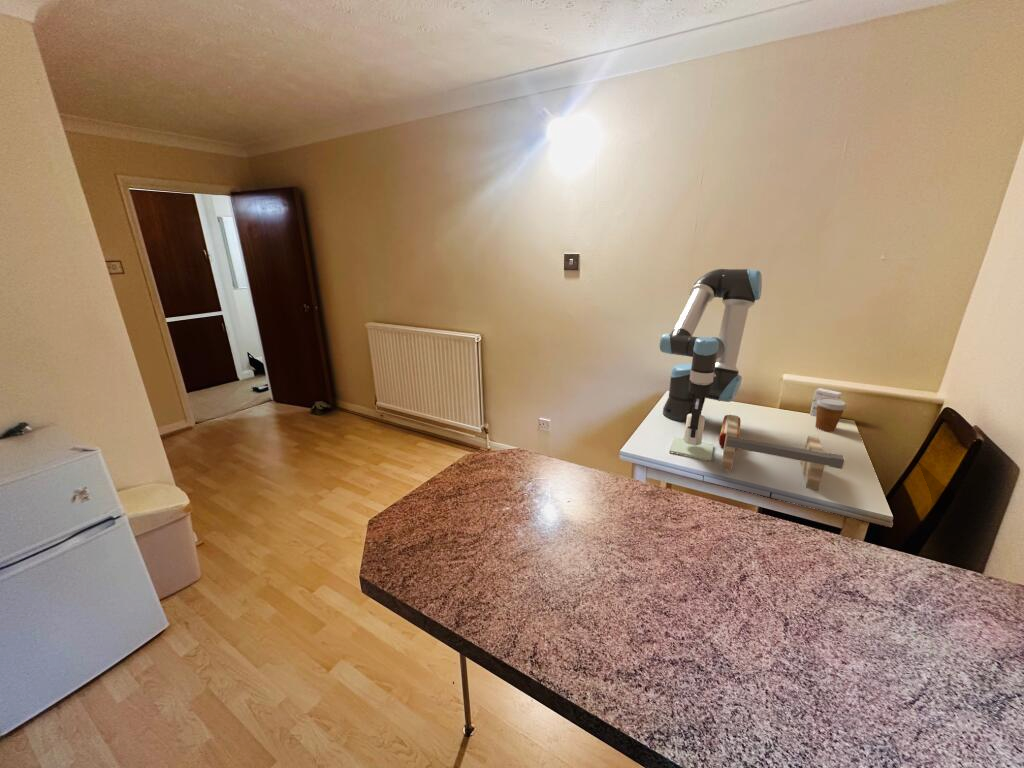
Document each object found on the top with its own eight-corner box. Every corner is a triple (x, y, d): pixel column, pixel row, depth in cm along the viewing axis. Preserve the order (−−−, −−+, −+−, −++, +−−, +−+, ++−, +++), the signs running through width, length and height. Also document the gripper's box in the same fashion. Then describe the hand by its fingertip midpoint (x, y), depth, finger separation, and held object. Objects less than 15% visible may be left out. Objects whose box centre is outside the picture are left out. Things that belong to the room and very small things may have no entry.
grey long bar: (725, 442, 132) (727, 434, 131) (839, 464, 118) (842, 455, 117) (725, 446, 130) (727, 438, 129) (841, 468, 116) (844, 459, 115)
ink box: (836, 417, 173) (843, 392, 169) (832, 420, 170) (839, 395, 167) (813, 411, 180) (819, 387, 176) (809, 414, 177) (815, 389, 173)
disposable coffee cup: (814, 431, 162) (821, 404, 158) (808, 422, 170) (814, 395, 166) (843, 435, 158) (851, 407, 154) (835, 425, 167) (842, 398, 163)
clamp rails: (723, 448, 150) (728, 422, 147) (811, 465, 138) (818, 437, 134) (721, 469, 137) (726, 441, 133) (818, 489, 124) (826, 459, 121)
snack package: (722, 426, 169) (724, 411, 166) (740, 429, 165) (742, 414, 163) (717, 447, 151) (720, 431, 149) (737, 451, 148) (740, 435, 146)
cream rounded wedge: (684, 436, 153) (688, 412, 149) (702, 439, 150) (705, 415, 147) (682, 443, 148) (686, 418, 144) (700, 446, 145) (704, 421, 142)
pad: (674, 439, 158) (674, 436, 158) (713, 446, 152) (713, 444, 151) (669, 452, 148) (669, 450, 148) (710, 461, 142) (711, 458, 142)
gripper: (710, 391, 132) (701, 454, 139) (714, 375, 147) (706, 432, 155) (686, 388, 135) (678, 449, 143) (692, 373, 151) (685, 428, 158)
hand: (692, 440), depth 149 cm, fingers closed on cream rounded wedge, 6 cm apart
